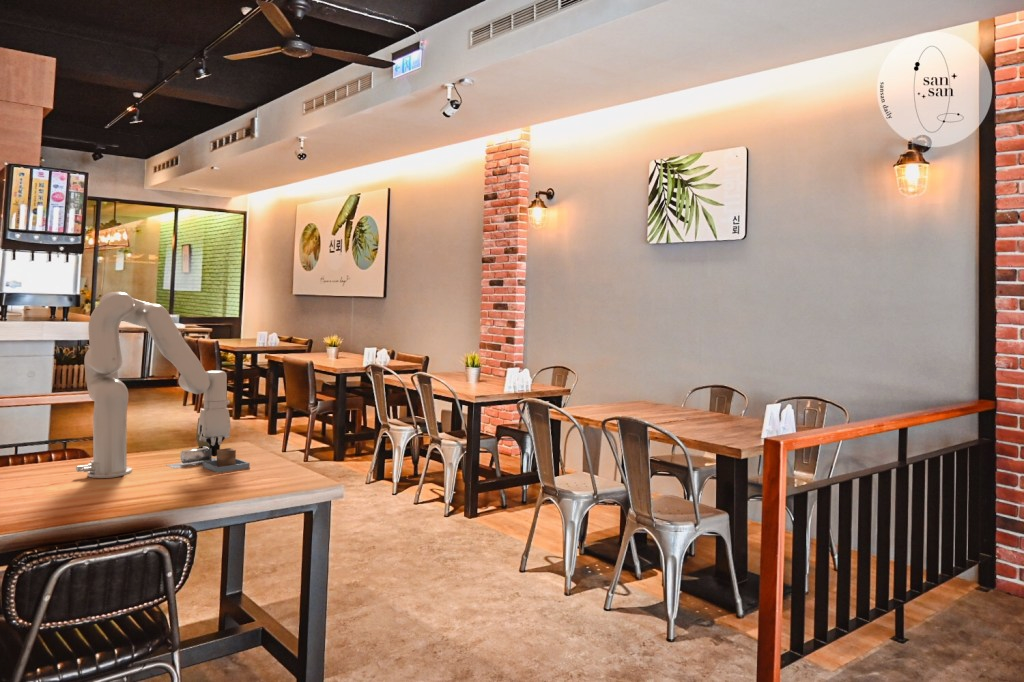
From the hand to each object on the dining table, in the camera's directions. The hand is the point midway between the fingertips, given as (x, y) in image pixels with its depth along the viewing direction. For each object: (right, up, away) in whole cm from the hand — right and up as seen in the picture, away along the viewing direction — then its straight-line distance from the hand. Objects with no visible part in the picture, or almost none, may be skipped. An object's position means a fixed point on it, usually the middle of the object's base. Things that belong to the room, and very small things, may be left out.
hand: (214, 455), depth 249 cm
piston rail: (-4, -2, -5) cm, 7 cm away
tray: (+8, -3, -10) cm, 13 cm away
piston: (-5, -2, -5) cm, 7 cm away
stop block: (+8, -2, -10) cm, 13 cm away
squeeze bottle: (-13, -1, +24) cm, 28 cm away
